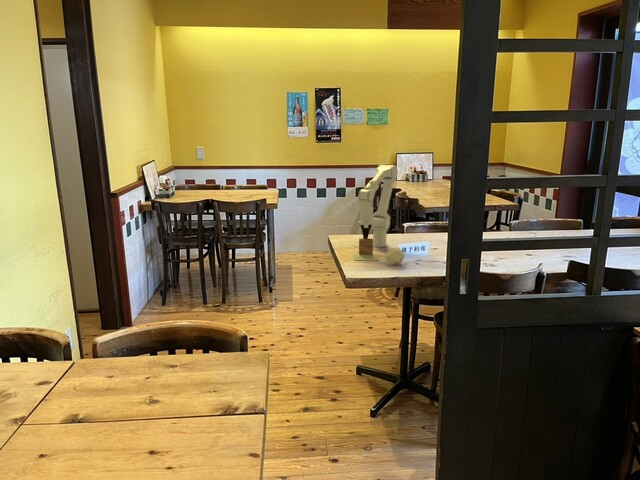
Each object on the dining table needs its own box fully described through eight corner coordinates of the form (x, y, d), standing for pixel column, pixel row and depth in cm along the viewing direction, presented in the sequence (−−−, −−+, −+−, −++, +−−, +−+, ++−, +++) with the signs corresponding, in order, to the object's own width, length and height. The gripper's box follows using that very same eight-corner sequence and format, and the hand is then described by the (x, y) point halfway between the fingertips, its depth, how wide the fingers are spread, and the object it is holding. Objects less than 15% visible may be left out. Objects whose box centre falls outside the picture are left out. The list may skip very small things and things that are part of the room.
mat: (354, 255, 236) (354, 255, 236) (377, 255, 235) (377, 255, 235) (354, 260, 227) (354, 259, 227) (378, 260, 226) (378, 260, 226)
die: (401, 269, 215) (409, 250, 217) (385, 260, 214) (393, 242, 216) (395, 270, 223) (403, 252, 225) (379, 261, 222) (388, 244, 224)
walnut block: (358, 253, 240) (359, 238, 238) (372, 253, 239) (372, 238, 238) (359, 255, 237) (359, 240, 235) (372, 255, 236) (373, 240, 234)
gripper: (357, 210, 246) (357, 235, 249) (358, 215, 232) (357, 241, 235) (371, 210, 246) (371, 235, 249) (372, 215, 232) (372, 242, 235)
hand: (365, 238), depth 242 cm, fingers closed
